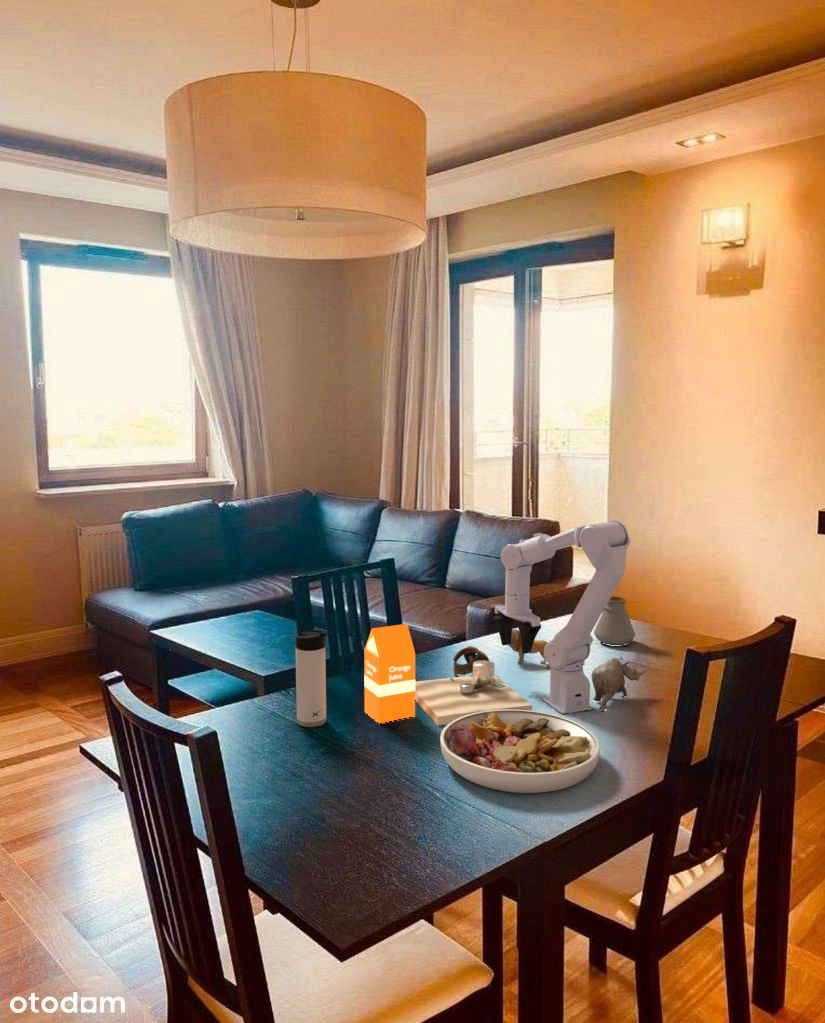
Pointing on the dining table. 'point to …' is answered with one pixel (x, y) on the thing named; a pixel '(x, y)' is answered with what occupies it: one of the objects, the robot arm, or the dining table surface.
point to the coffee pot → (615, 623)
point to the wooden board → (464, 698)
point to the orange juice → (389, 674)
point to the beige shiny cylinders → (479, 676)
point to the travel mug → (311, 678)
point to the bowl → (520, 750)
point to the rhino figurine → (612, 679)
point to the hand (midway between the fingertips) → (516, 648)
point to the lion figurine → (517, 646)
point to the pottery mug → (469, 657)
